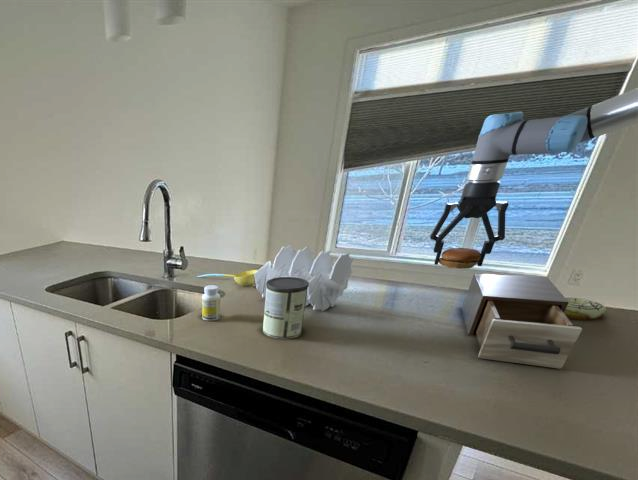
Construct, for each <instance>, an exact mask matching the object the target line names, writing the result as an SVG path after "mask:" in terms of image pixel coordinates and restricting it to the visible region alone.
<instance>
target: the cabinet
mask: <svg viewBox="0 0 638 480" xmlns="http://www.w3.org/2000/svg"><path fill="white" fill-rule="evenodd" d="M565 297H566V296H564V295H563V293H562V292H561V291H560V290H559V289H558V288H557V286H556V285H555V284H554V283H553V282H552V281H551V280H550V278H549V277H547V276H530V275H512V274H511V275H510V274H491V273H473V275H472V278H471V280H470V284H469V287H468V290H467V292H466V295H465V298H464V301H463V303H462V307H461V313H462V316H463V321H464V324H465V328H466V332H467V336H469V337H477V335H476V332H475V327H476V325H477V322H478V320H479V317H480V314H481V312H482V309H483V306H484V304H485V301H486V299H487V300H500V301H514V302H527V303H540V304H553V305H558V306H559V308H560V309H561V310H562V312H563V313H564V311H565V309H566V307H567V305H568V303H569V302H568V300H567V299H566V298H565Z"/></svg>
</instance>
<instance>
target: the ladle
mask: <svg viewBox="0 0 638 480" xmlns="http://www.w3.org/2000/svg"><path fill="white" fill-rule="evenodd" d="M258 270H259V269H250V270H246V271H243V272H239V273H236V274H227V273H206V274H201V275H197V278H205V277H233V278H234V281H235V282H236V284H238V285H240V286H242V287H249V286H251V285H253V284H255V277H254V273H255V272H256V271H258Z"/></svg>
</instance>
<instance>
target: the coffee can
mask: <svg viewBox="0 0 638 480" xmlns="http://www.w3.org/2000/svg"><path fill="white" fill-rule="evenodd" d="M266 286H267V287H266V297H264V298H265V300H264V312H263V324H262V333H264V334H265V335H266V336H268V337H271V338H274V339H293V338H297V337H299V336H301V335H302V332H303V331H302V330H303V324H304V316H305V309H306V306H305V304H306V296H307V289H308V286H309V282H308V281H306V280H304V279H300V278H294V277H280V278H274V279H270V280H268V281H267V282H266Z"/></svg>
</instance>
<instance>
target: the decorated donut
mask: <svg viewBox="0 0 638 480" xmlns="http://www.w3.org/2000/svg"><path fill="white" fill-rule="evenodd" d="M564 297H565V298H566V299H567V300H568V302H569V303H568V305H567V307H566V309H565V311H564V314H565V315H566V317H567V318H568V319H569V320H570V319H571V320H583V321H584V320H585V321H586V320H587V321H588V320H597V319H600V318H601V317H602V316H603V315H604V314H605V312H606V311H607V308H606V306H605V305H604V304H602V303H600V302H598V301H594V300H589V299H585V298H580V297H572V296H571V297H570V296H564ZM572 304H575V305H572ZM590 306H591V307H590Z"/></svg>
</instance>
